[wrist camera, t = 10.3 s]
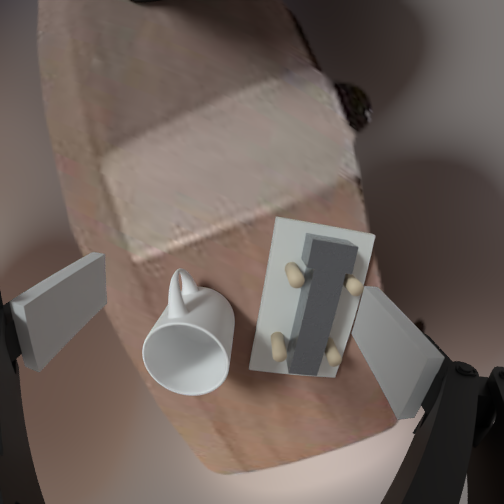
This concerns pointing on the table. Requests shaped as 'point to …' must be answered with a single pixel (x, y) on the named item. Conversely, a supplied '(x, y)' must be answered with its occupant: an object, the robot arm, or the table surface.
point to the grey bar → (318, 300)
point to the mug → (191, 339)
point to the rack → (288, 292)
